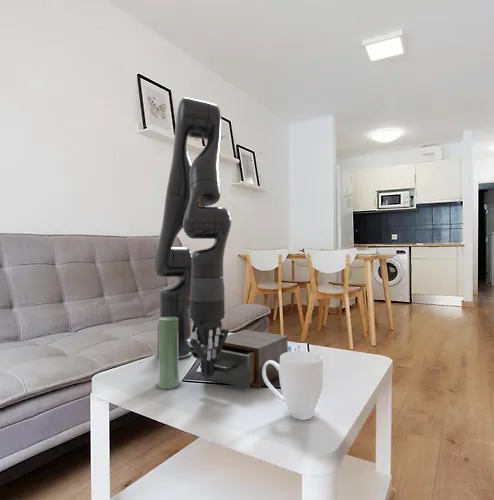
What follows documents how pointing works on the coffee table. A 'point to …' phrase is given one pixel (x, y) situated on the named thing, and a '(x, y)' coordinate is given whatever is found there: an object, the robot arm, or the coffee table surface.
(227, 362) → the drawer
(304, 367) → the mug
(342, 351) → the coffee table surface
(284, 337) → the cabinet
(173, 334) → the green cylinder
